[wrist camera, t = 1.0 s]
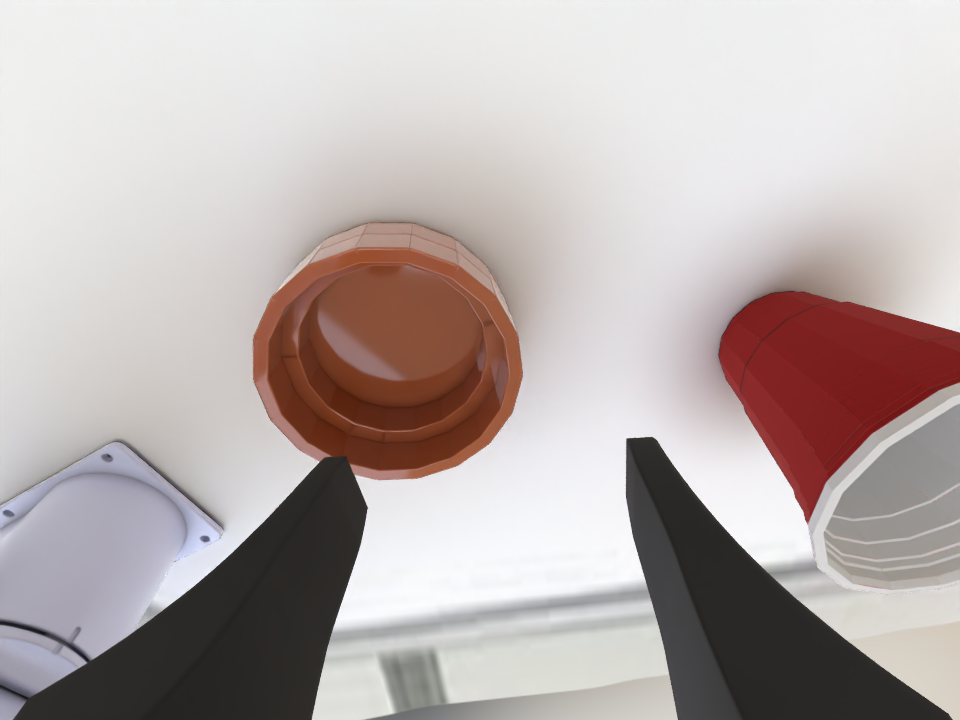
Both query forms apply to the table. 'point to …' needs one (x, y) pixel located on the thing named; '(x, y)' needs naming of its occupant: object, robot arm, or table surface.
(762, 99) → the table surface
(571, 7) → the table surface
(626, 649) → the table surface
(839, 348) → the plastic cup
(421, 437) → the bowl
